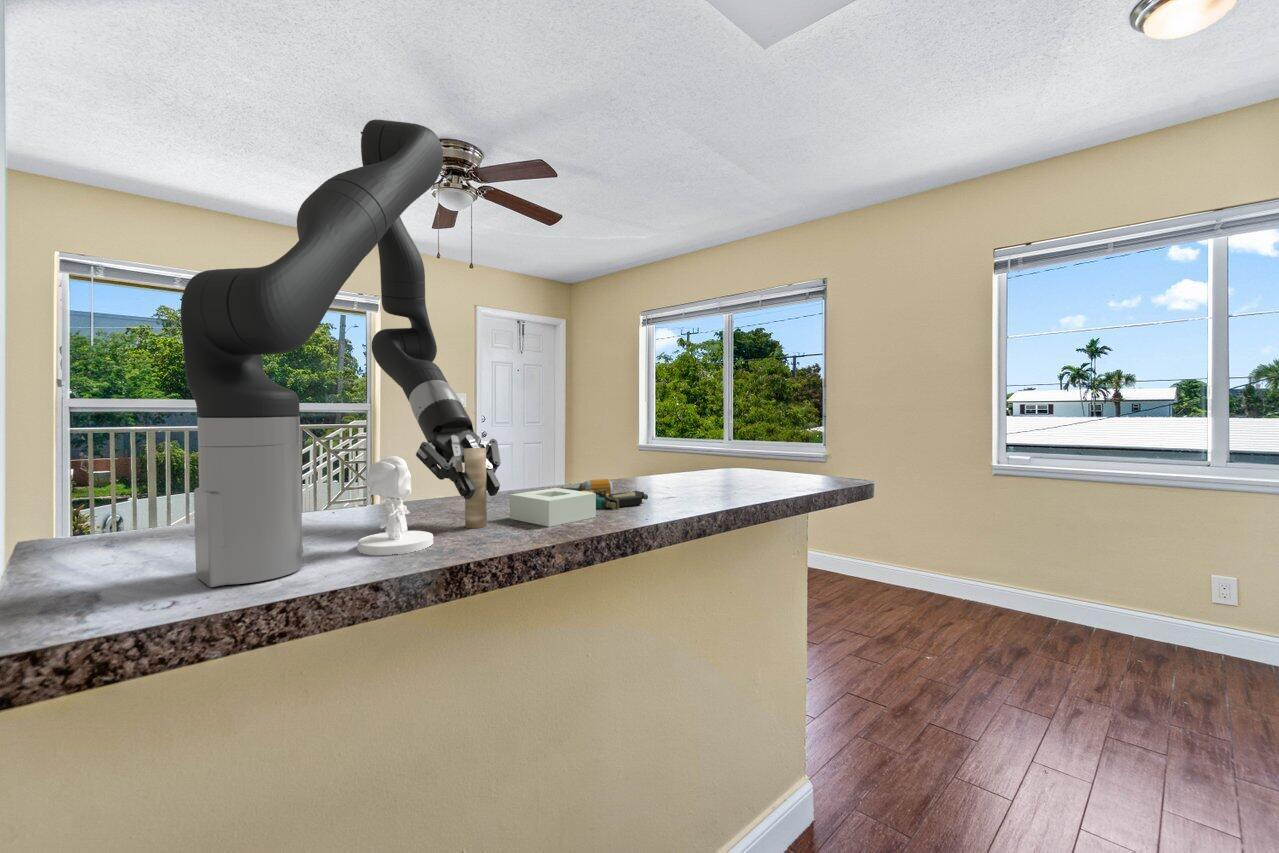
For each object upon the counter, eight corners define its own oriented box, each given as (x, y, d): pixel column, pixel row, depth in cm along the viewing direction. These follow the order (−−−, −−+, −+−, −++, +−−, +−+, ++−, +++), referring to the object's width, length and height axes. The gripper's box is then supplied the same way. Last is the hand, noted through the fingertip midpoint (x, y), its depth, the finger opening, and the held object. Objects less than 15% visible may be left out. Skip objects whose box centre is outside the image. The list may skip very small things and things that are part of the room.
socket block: (549, 526, 86) (549, 500, 86) (509, 518, 93) (509, 494, 93) (595, 517, 94) (595, 493, 94) (556, 510, 100) (556, 487, 100)
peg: (472, 529, 84) (471, 449, 84) (461, 526, 87) (460, 448, 86) (491, 526, 87) (490, 448, 86) (479, 523, 89) (478, 447, 89)
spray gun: (655, 509, 107) (588, 522, 97) (606, 494, 120) (543, 503, 111) (656, 487, 106) (588, 498, 97) (606, 474, 119) (543, 482, 110)
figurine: (406, 557, 69) (404, 459, 68) (341, 553, 71) (339, 458, 70) (446, 540, 78) (445, 453, 77) (387, 537, 80) (386, 452, 79)
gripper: (406, 396, 86) (450, 483, 78) (486, 397, 96) (531, 473, 89) (390, 430, 89) (430, 516, 82) (469, 428, 100) (511, 503, 92)
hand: (483, 493), depth 85 cm, fingers open, 3 cm apart
